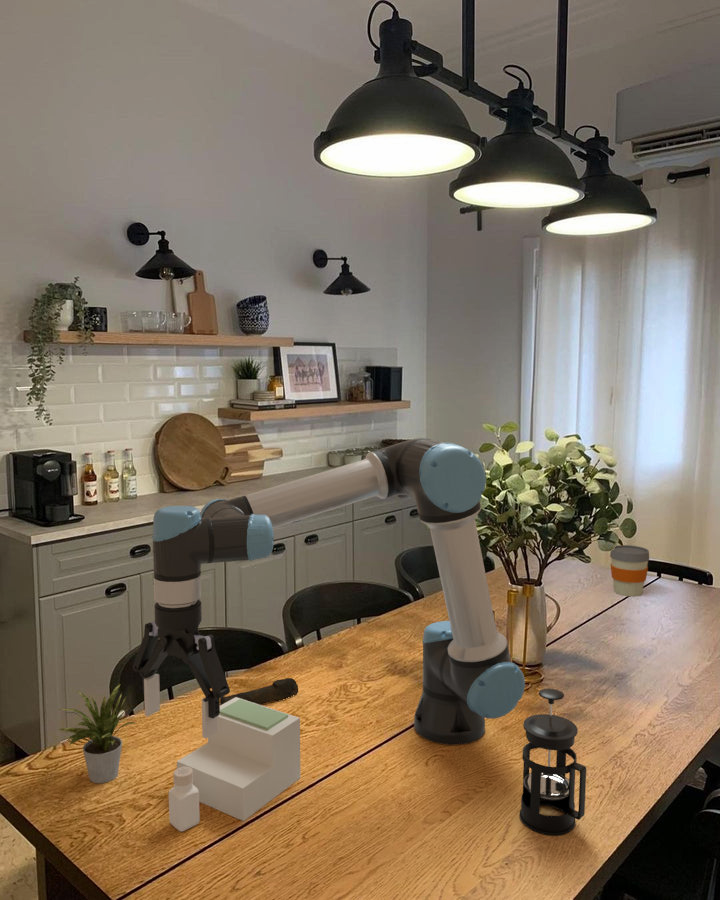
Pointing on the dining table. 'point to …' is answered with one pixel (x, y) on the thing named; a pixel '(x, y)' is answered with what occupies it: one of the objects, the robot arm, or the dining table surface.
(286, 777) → the stepped riser
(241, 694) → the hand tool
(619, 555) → the reusable coffee cup
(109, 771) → the house plant
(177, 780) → the white square bottle
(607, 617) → the dining table surface
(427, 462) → the robot arm
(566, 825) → the french press
